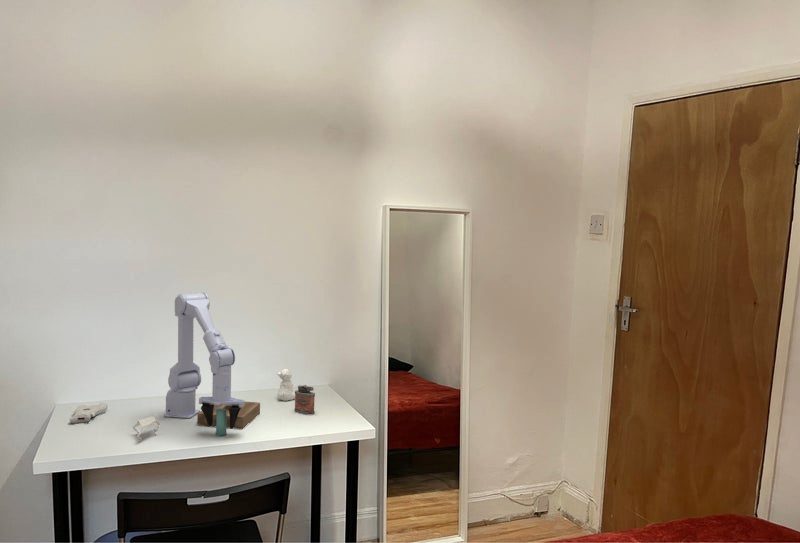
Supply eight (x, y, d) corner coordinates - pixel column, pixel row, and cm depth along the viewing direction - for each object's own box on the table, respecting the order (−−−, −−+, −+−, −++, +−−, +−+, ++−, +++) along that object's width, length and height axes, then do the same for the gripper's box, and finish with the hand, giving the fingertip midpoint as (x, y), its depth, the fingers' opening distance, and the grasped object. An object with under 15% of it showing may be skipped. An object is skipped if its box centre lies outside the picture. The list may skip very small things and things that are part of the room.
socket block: (197, 425, 201) (197, 413, 201) (217, 410, 217) (217, 399, 216) (243, 428, 199) (243, 417, 199) (259, 413, 215) (260, 402, 215)
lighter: (292, 411, 218) (293, 385, 217) (297, 409, 221) (298, 382, 220) (311, 415, 215) (312, 388, 214) (316, 412, 218) (317, 386, 217)
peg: (214, 435, 192) (214, 411, 192) (218, 432, 196) (218, 408, 195) (223, 436, 192) (224, 412, 191) (227, 432, 195) (228, 409, 194)
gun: (101, 412, 199) (67, 415, 196) (101, 423, 199) (68, 426, 196) (108, 399, 216) (76, 401, 213) (108, 409, 217) (77, 411, 213)
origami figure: (133, 431, 194) (133, 416, 193) (161, 429, 196) (161, 415, 196) (127, 445, 182) (127, 429, 182) (156, 443, 185) (156, 427, 184)
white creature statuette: (303, 397, 236) (303, 367, 235) (291, 403, 228) (292, 372, 226) (282, 394, 239) (283, 364, 238) (270, 400, 231) (271, 369, 230)
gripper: (194, 387, 189) (194, 429, 190) (238, 391, 187) (237, 433, 189) (204, 381, 196) (204, 421, 197) (247, 384, 194) (246, 425, 196)
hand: (221, 426), depth 194 cm, fingers open, 7 cm apart
